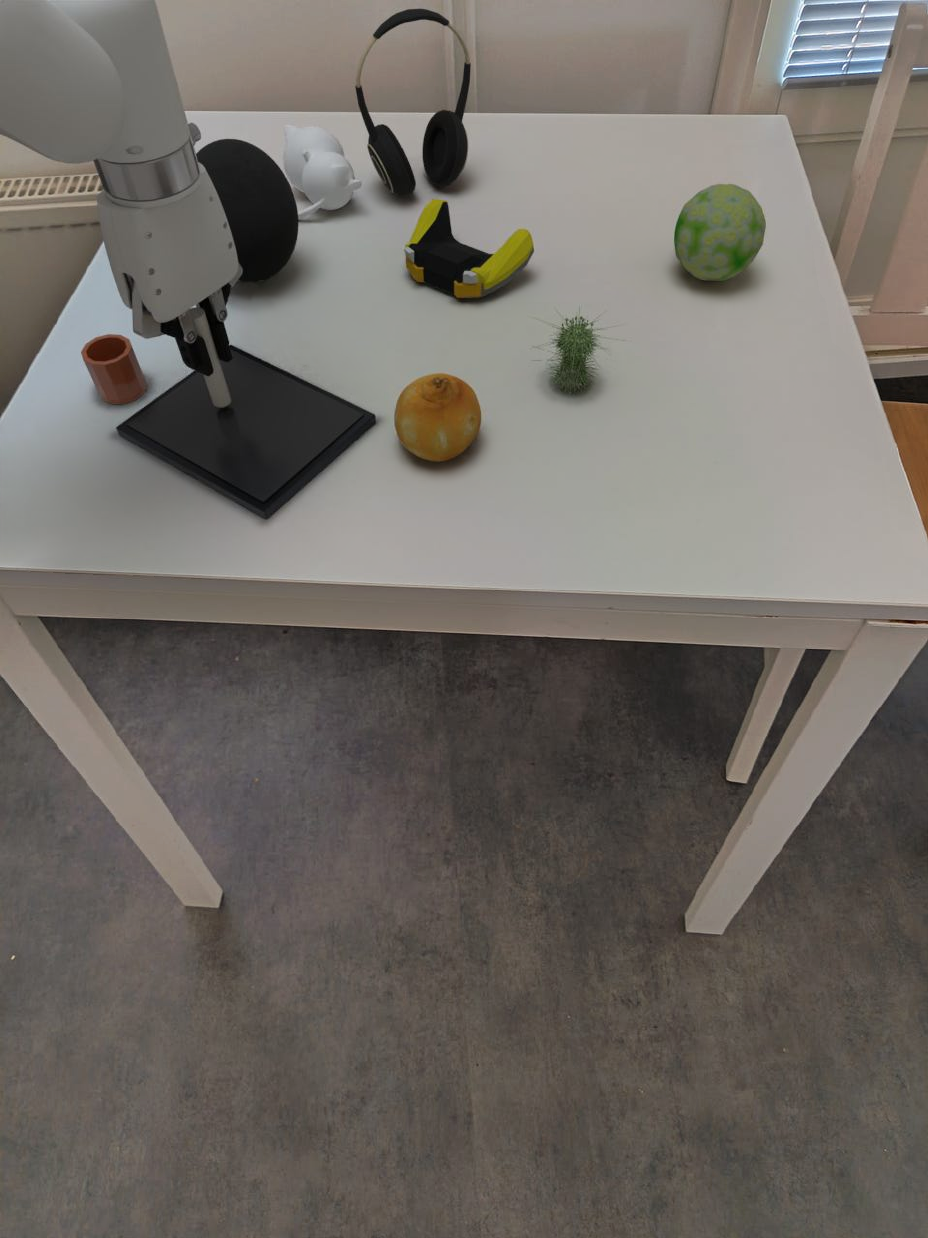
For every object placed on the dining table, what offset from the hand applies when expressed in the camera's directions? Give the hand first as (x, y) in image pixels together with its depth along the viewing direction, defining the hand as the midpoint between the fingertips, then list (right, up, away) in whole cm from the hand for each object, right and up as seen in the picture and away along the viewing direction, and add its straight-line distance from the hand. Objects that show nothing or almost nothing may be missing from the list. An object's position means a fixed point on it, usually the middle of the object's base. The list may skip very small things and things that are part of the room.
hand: (209, 361), depth 80 cm
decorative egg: (-1, +16, +20) cm, 26 cm away
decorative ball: (+53, +16, +19) cm, 58 cm away
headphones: (+18, +32, +31) cm, 49 cm away
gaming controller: (+24, +16, +20) cm, 35 cm away
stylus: (0, -3, +4) cm, 5 cm away
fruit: (+22, -7, +3) cm, 23 cm away
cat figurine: (+5, +30, +30) cm, 43 cm away
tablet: (+3, -5, +4) cm, 7 cm away
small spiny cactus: (+35, 0, +8) cm, 36 cm away
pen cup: (-11, 0, +8) cm, 14 cm away
